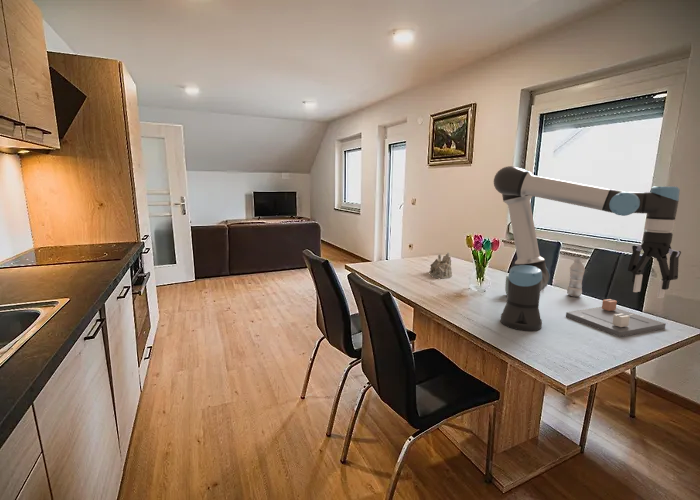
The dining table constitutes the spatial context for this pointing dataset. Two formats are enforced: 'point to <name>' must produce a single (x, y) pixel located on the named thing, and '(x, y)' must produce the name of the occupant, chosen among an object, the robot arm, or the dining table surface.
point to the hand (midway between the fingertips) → (648, 294)
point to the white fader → (621, 320)
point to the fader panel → (605, 319)
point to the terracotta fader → (609, 304)
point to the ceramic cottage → (441, 267)
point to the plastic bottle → (576, 278)
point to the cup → (506, 284)
